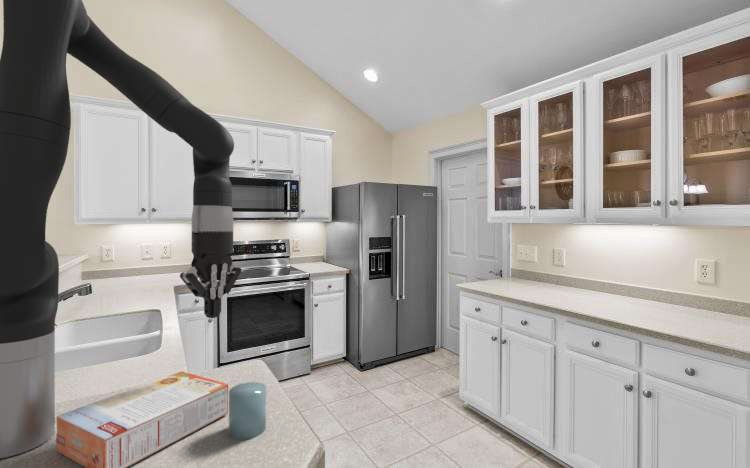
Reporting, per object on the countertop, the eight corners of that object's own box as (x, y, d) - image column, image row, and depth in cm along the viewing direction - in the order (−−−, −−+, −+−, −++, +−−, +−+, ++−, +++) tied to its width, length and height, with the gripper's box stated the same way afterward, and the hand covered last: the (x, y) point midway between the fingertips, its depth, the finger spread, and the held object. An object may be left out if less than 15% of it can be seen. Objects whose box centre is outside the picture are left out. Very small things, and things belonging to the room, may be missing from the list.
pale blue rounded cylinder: (247, 443, 59) (247, 400, 59) (221, 433, 62) (221, 392, 62) (273, 425, 64) (273, 386, 64) (247, 417, 67) (248, 379, 67)
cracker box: (182, 399, 74) (53, 452, 56) (182, 369, 74) (54, 413, 56) (229, 416, 68) (101, 482, 49) (230, 383, 68) (102, 437, 49)
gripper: (226, 229, 80) (226, 308, 80) (168, 229, 68) (168, 322, 68) (252, 229, 76) (251, 312, 76) (195, 229, 64) (195, 327, 65)
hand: (212, 317), depth 72 cm, fingers closed
